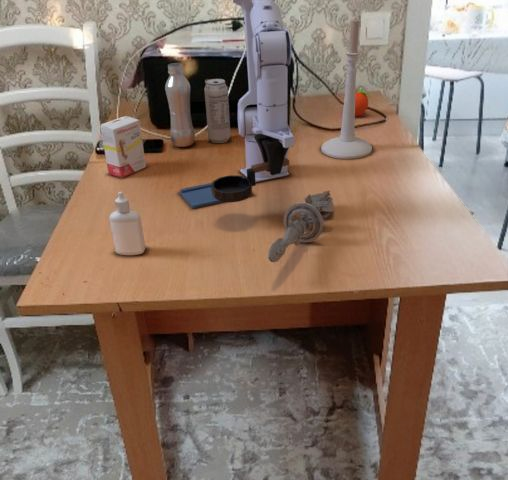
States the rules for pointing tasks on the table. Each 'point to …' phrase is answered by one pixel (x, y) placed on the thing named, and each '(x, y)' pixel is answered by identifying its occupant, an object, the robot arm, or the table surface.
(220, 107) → the energy drink can
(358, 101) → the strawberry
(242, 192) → the pan
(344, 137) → the candlestick
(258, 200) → the table surface
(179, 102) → the plastic bottle
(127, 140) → the ink box
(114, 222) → the eye dropper bottle
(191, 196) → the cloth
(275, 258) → the spaceship
